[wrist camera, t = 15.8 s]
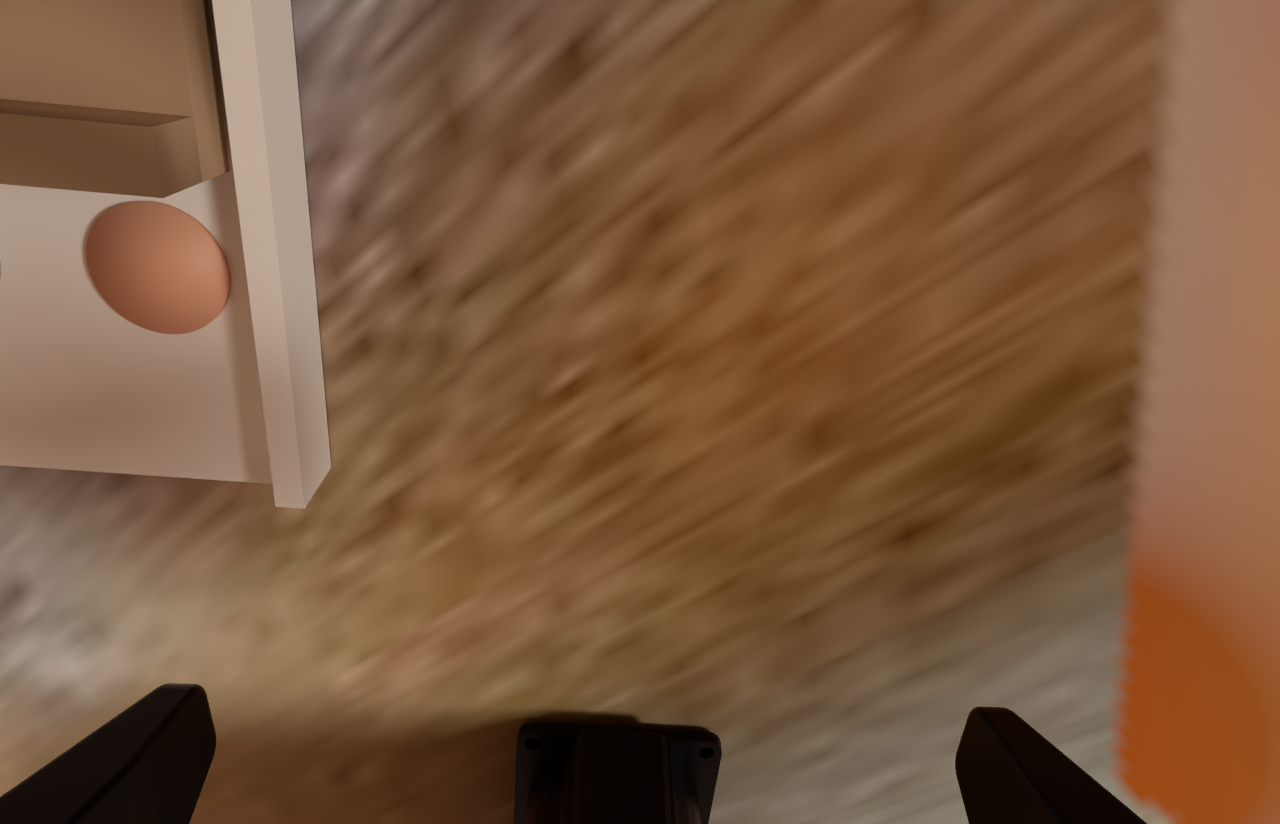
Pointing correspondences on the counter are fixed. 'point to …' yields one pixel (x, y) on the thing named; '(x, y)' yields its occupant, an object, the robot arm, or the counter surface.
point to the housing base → (176, 302)
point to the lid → (109, 96)
